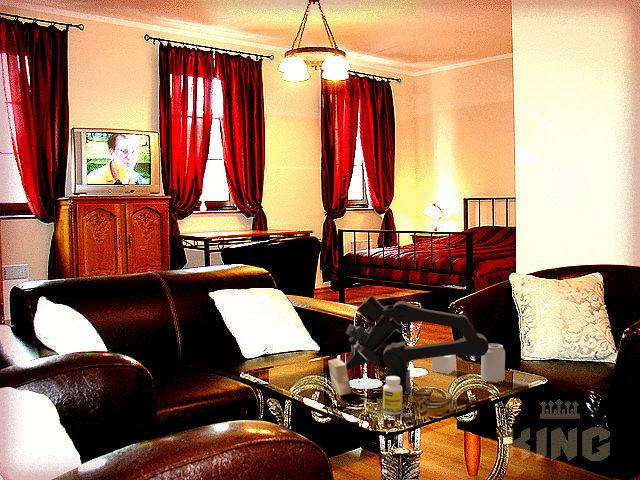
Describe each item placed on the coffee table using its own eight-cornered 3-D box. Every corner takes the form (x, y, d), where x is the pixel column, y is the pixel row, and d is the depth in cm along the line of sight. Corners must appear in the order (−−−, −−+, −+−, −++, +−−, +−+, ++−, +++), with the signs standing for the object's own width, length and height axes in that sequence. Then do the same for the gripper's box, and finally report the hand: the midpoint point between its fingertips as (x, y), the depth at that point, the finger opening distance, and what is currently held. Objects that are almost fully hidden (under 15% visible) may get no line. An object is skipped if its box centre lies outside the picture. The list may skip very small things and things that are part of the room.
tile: (343, 385, 217) (338, 358, 216) (351, 392, 209) (346, 364, 208) (332, 388, 216) (328, 360, 215) (340, 395, 208) (335, 367, 207)
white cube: (431, 372, 236) (432, 354, 236) (439, 368, 241) (439, 351, 241) (448, 374, 233) (448, 357, 232) (455, 370, 238) (455, 353, 237)
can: (506, 379, 226) (507, 343, 225) (502, 385, 220) (503, 348, 219) (483, 377, 229) (484, 341, 229) (478, 382, 223) (479, 346, 222)
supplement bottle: (382, 414, 191) (382, 379, 190) (383, 408, 196) (383, 374, 196) (401, 415, 190) (402, 380, 189) (402, 409, 195) (402, 375, 195)
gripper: (355, 310, 222) (321, 345, 221) (369, 321, 203) (331, 359, 202) (378, 333, 224) (345, 368, 223) (394, 346, 205) (357, 384, 204)
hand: (344, 369), depth 213 cm, fingers closed
